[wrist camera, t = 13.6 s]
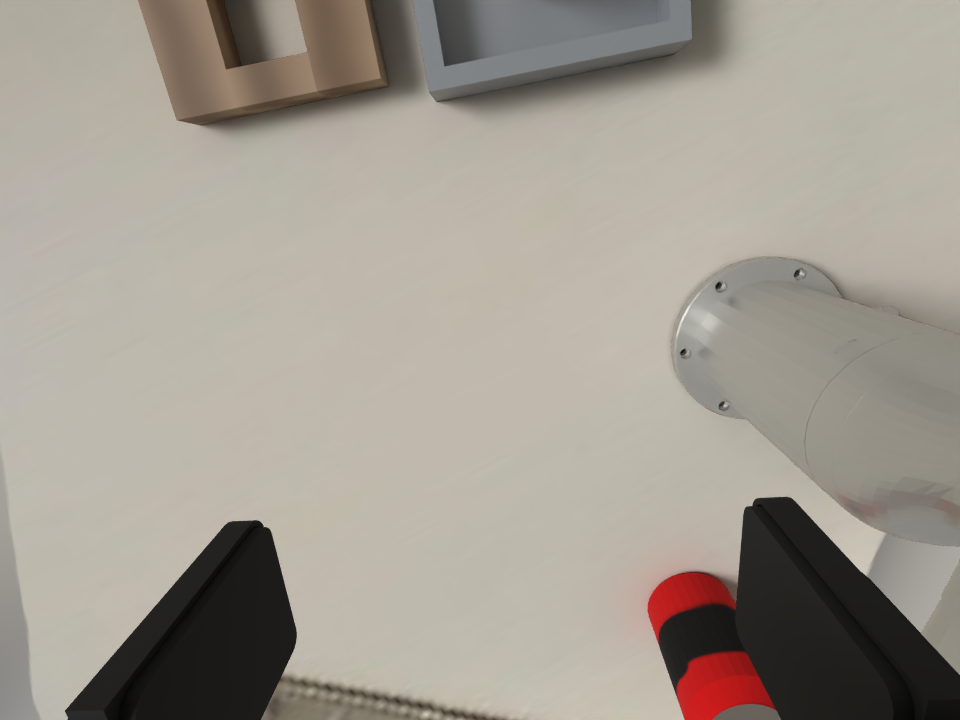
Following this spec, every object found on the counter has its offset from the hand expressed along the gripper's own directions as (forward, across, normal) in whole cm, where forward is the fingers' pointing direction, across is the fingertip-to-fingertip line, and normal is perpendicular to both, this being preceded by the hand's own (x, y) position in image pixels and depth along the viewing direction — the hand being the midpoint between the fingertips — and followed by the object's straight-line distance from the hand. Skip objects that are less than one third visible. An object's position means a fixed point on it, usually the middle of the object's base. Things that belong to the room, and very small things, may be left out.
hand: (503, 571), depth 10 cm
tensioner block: (+30, +14, -19) cm, 38 cm away
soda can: (+31, -15, +31) cm, 46 cm away
